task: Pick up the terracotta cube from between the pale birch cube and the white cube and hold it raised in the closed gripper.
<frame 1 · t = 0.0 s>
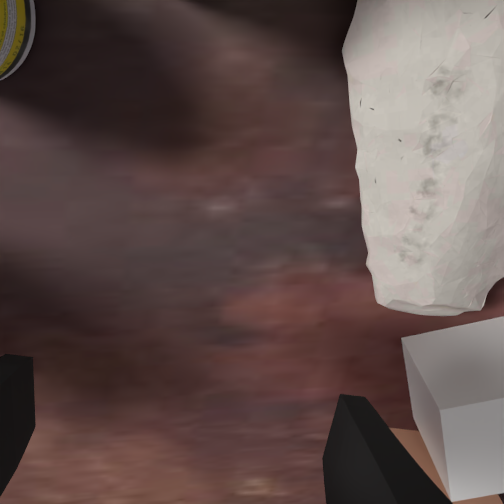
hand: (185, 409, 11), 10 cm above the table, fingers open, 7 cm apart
white cube: (457, 368, 23), on the table
terracotta cube: (411, 462, 25), on the table
decorative stone: (428, 120, 19), on the table
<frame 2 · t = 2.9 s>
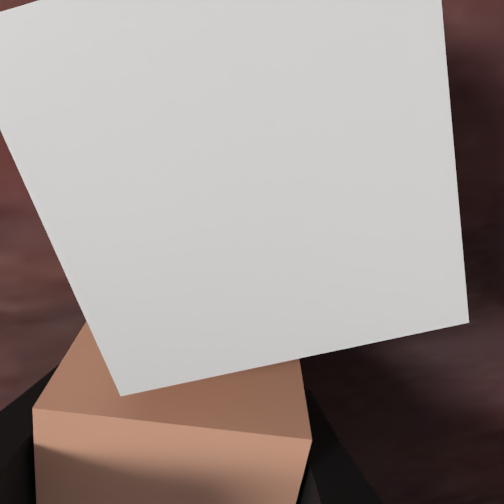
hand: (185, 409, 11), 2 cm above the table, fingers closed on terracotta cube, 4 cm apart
white cube: (246, 132, 10), on the table
terracotta cube: (193, 367, 12), on the table, touching gripper
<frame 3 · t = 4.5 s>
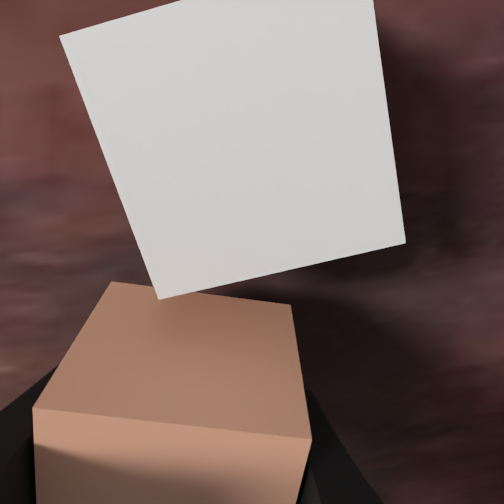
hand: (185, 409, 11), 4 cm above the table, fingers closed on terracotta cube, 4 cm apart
white cube: (249, 115, 13), on the table
terracotta cube: (193, 367, 12), point 3 cm above the table, touching gripper
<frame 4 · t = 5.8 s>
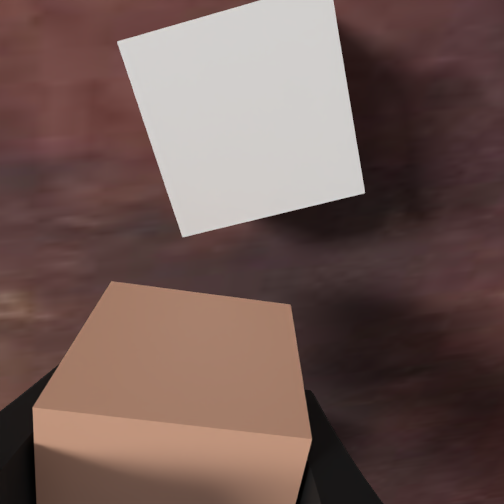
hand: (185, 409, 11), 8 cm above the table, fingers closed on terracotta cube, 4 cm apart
white cube: (249, 103, 16), on the table
terracotta cube: (193, 366, 12), point 6 cm above the table, touching gripper
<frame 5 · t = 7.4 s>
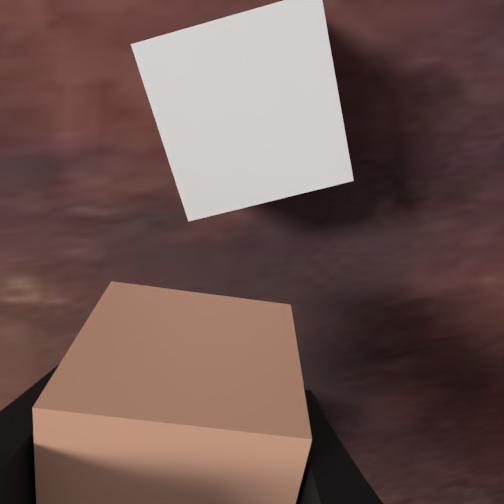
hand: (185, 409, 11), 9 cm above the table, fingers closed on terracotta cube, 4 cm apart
white cube: (249, 100, 17), on the table
terracotta cube: (193, 366, 12), point 8 cm above the table, touching gripper
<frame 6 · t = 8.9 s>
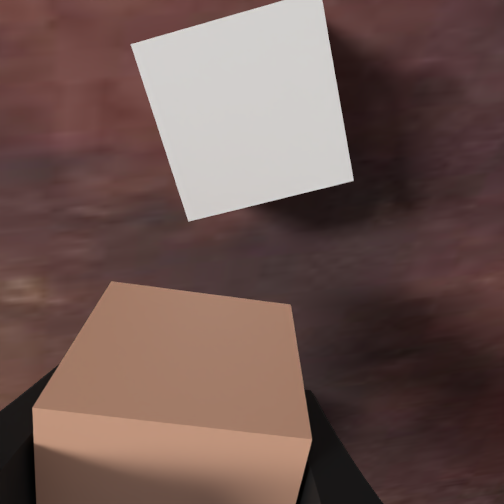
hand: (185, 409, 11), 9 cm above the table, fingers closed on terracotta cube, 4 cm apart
white cube: (249, 100, 17), on the table
terracotta cube: (193, 366, 12), point 8 cm above the table, touching gripper
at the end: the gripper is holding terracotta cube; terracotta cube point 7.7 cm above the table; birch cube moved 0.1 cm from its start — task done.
